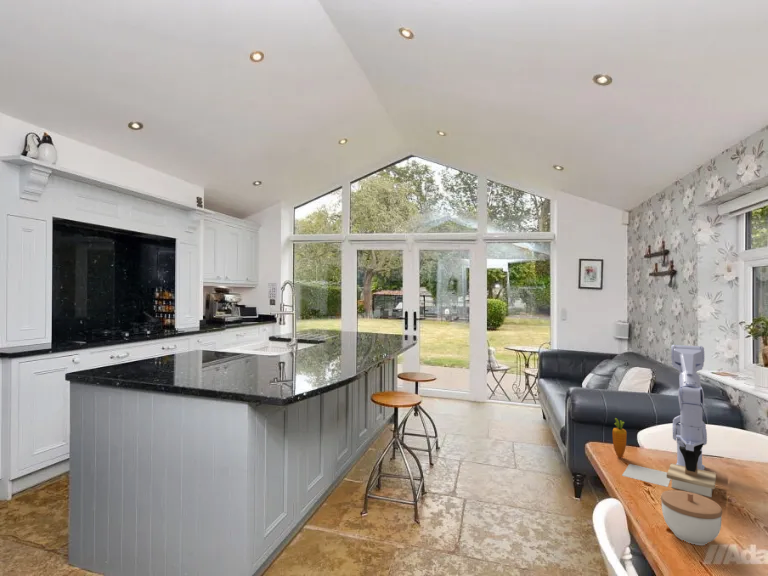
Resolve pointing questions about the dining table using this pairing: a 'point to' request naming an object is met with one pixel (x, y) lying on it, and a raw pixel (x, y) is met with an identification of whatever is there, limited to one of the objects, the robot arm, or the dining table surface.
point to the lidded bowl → (691, 516)
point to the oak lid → (692, 476)
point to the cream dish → (692, 488)
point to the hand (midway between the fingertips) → (692, 467)
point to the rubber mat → (647, 475)
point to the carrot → (619, 438)
